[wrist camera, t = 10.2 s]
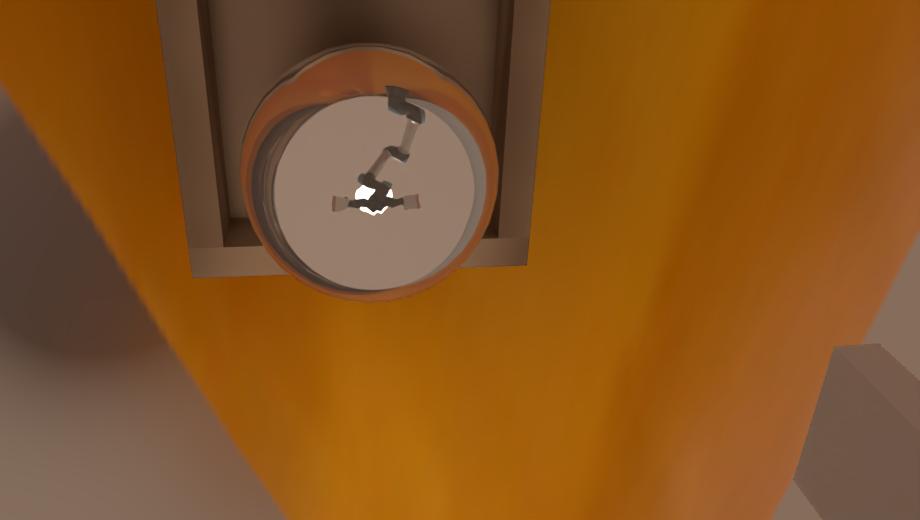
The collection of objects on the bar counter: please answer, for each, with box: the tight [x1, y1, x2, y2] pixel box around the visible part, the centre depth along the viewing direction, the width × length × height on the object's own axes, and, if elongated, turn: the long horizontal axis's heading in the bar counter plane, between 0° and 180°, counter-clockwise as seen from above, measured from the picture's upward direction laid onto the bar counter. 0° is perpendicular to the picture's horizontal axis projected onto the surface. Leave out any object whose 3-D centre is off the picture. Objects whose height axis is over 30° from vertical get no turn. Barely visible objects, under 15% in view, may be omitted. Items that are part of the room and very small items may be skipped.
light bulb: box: [239, 43, 499, 303], centre depth 24 cm, size 7×7×12 cm
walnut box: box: [156, 0, 550, 278], centre depth 29 cm, size 12×12×6 cm
